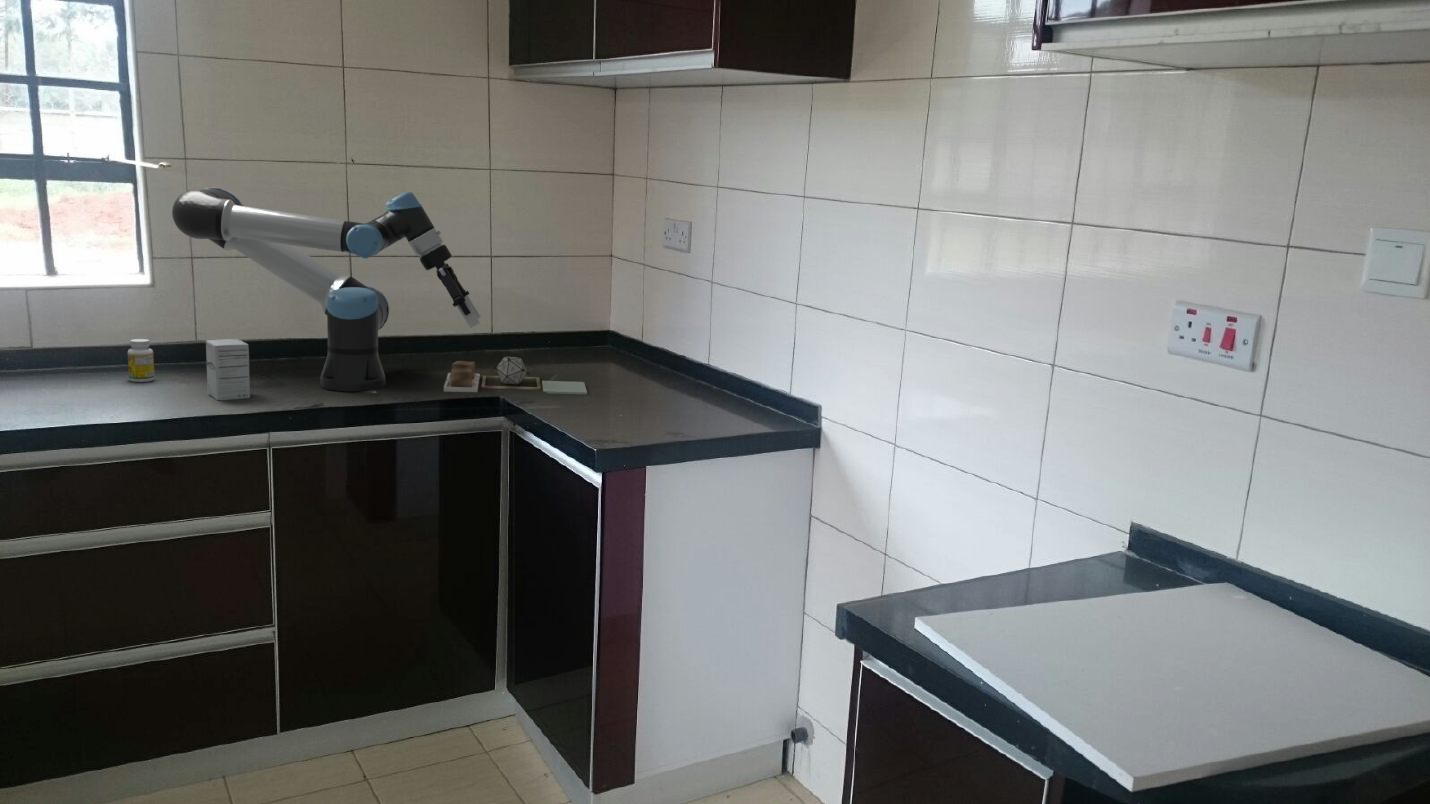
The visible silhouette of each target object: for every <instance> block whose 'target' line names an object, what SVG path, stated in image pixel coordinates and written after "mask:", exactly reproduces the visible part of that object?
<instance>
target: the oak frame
mask: <svg viewBox="0 0 1430 804" xmlns="http://www.w3.org/2000/svg"><path fill="white" fill-rule="evenodd" d="M487 379H500V378H499V376H498V375H482V380H481V387H480V388H481V389H495V390H496V389H499V390H500V389H501V390H529V391H530V390H533V391H534V390H536V391H539V390H541V387H542V386H541V381H540V379H541V378H540V377H538V376H530V377H529V376H525V377H524V378H523V379H522V380H536V386H508V385H507V386H504V385H503V386H501V385H497V386H496V385H486V380H487Z"/></svg>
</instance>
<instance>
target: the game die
mask: <svg viewBox="0 0 1430 804" xmlns="http://www.w3.org/2000/svg"><path fill="white" fill-rule="evenodd" d="M502 356H503V358H502V359H501V360H500V361H499V363H498V364H497V365H496V366H492V368H493V369H495V370H496V372H497V376H499V378H498V379H499V380H500V383H499V384H500V385H502V384H504V385H516V386H520V383H521V382H522V381H523V380H524V379H523V378H524V377H526V376H527V375H528V376H529V375H530V374H531V373H530V372H527V369H526V365H525V364H524V360H523V358H524V354H522V355H521V356H520V357H516V356H506V354H505V353H503V355H502Z"/></svg>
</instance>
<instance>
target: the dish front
mask: <svg viewBox="0 0 1430 804" xmlns="http://www.w3.org/2000/svg"><path fill="white" fill-rule="evenodd" d="M479 385H480V381H479V382H478V381H472V387H451V381H446V380H445V382H444V385H443V392H450V393H451V392H453V393H478V391H479Z"/></svg>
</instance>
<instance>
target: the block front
mask: <svg viewBox="0 0 1430 804" xmlns="http://www.w3.org/2000/svg"><path fill="white" fill-rule="evenodd" d="M450 373H451V387H472V371H471V370H470V369H452V368H451V369H450Z"/></svg>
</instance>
